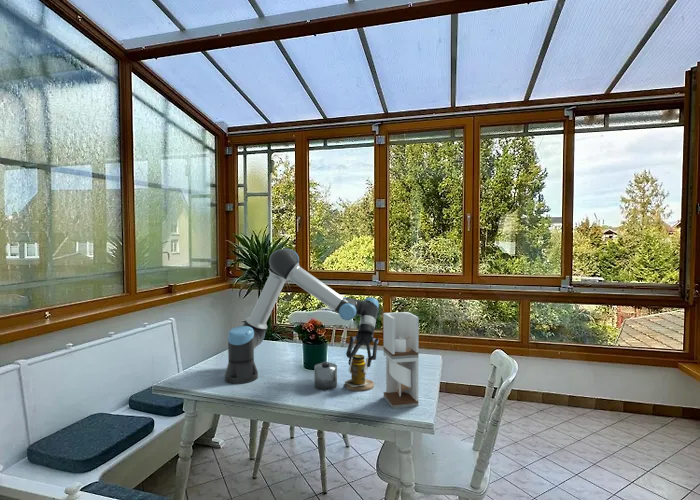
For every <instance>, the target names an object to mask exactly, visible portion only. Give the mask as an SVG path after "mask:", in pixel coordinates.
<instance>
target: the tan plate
mask: <svg viewBox="0 0 700 500" xmlns="http://www.w3.org/2000/svg"><path fill="white" fill-rule="evenodd" d="M350 380H351V379H348V380H347V381H350ZM365 382H367V383H369V384H366V385H361V386H356V387H351V386H350V385H348V384H346V383H345V382H344V387H345V388H346V390H350V391H352V392H366V391H369V390H370V391H371V390H372V389H374V387H375V383H374V381H373V380H371V379H367V378H365Z"/></svg>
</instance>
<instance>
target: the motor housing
mask: <svg viewBox="0 0 700 500" xmlns="http://www.w3.org/2000/svg"><path fill="white" fill-rule="evenodd" d="M313 370H314V371H313V372H314V384H313V385H314V389H316V390H318V391H323V392H324V391H327V392H328V391H333V390H334V389H337V387H338V365H337V364H336V363H333V362H329V361H323V362H320V363H317V364H314V369H313Z"/></svg>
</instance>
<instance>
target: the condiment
mask: <svg viewBox="0 0 700 500" xmlns="http://www.w3.org/2000/svg"><path fill="white" fill-rule="evenodd" d="M352 358H353V359H352V365H351V366H352V370H351V373H350V375H351V380H350V379H349V380H350V381H348V380H345V381H344V384H345V383H346V384H348V385H350V386H351V387H356V386H361V385H366V384H369V383H367V382H365V379H366V375H365V374H364V367H365V362H366V360H365V355H363V354H356V355H353V357H352Z"/></svg>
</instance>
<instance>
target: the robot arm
mask: <svg viewBox="0 0 700 500" xmlns="http://www.w3.org/2000/svg"><path fill="white" fill-rule="evenodd" d="M299 262H300V257H299V255H298V253H297V252H296V251H295V250H293V249H291V248H287V247H286V248H280V249H279V248H278V249H277V250H274V251H273V252H272V253H271V254H270V256H269V260H268V265H269V268H268V271H269V275H268V277H267V280H266V281H265V284H264V286H263V288H262V290H261V293H260V294H259V297H258V299H257V301H256V304H255V305H254V307H253V310H252V312H251V314H250V316H248V317H245V320H244V322H243V324H242V325H239V326H235V327H233V328H231V329H230V330H229V331H228V334H227V348H228V349H227V351H228V352H227V353H228V354H227V355H228V356H227V357H228V358H227V359H228V362H227V363H228V364H227V366H226V369H225V373H224V381H225V382H226V383H228V384H234V383H239V384H246V383H251V382H253V381H256V380H257V379H258V378H259V371H258V368H257V366H256V362H255V349H256V348H257V347H259V345H261V344H262V343H263V341H264V339H265V336H266V332H267V330H268V325H267V322H268V320H269V318H270V316H271V314H272V312H273V309H274V307H275V305H276V303H277V301H278V299H279V296H280V294H281V292H282V289H283V288H284V285H285V283H286V282H287V281H291V282H293V283H294V284H296V286H298V287H299V288H301V289H302V290H304V291H305V292H307V293H308V294H310V295H311V296H313V298H315V299H317V300H319V302H321V303H322V304H324V305H326V306H327V307H328V308H330V309H331V310H333V312H335V313H337V314H338V315H339V316H340V318H341V319H342V320H344V321H351V320H353V319H354V318H355V317H356V316H359V317H360V320H359V323H358V324H359V326H358V329H357V334H356V335H355V336H353V335H352V336H349V343H348V347H347V350H346V352H345V355H346V358H347V359H348V358H349V359H348V365H349V368H348V372H349V374H351V370H352V366H351V365H352V359H353V358H352V357H353V355H357V353H358V351H359V349H360V348H361V347H362V346H364V347H366V351H367V357H366V359H365V367H364V374H365V376H366V375H367V373H368V369H369V368H371V364H372V361H375V360H377V352H378V351H377V350H378V344H379V342H380V340H379V338H378V337H376V338H375V337H374V335H375V327H376V322H377V318H378V313H379V308H380V307H379V306H380V304H379V303H380V302H379V300H378V299H377V298H375V297H373V296H371V297H366V298H365V299H364V300H361V299H360V300H359V299H355V298H351V297H346V296H342V295H341V294H340V293H338V292H336V291H335V290H334V289H333V288H331V287H330V286H328V285H326V284H325V283H324V282H323V281H321V280H320V279H318V278H317V277H315V276H314V275H312V274H311V273H310V272H308V271H307V270H305V269H304V268H303V267H302V266H300V263H299ZM355 341H356V343H355ZM354 343H355V345H354ZM371 343H373V348H372V353H371V345H370V344H371Z"/></svg>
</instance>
